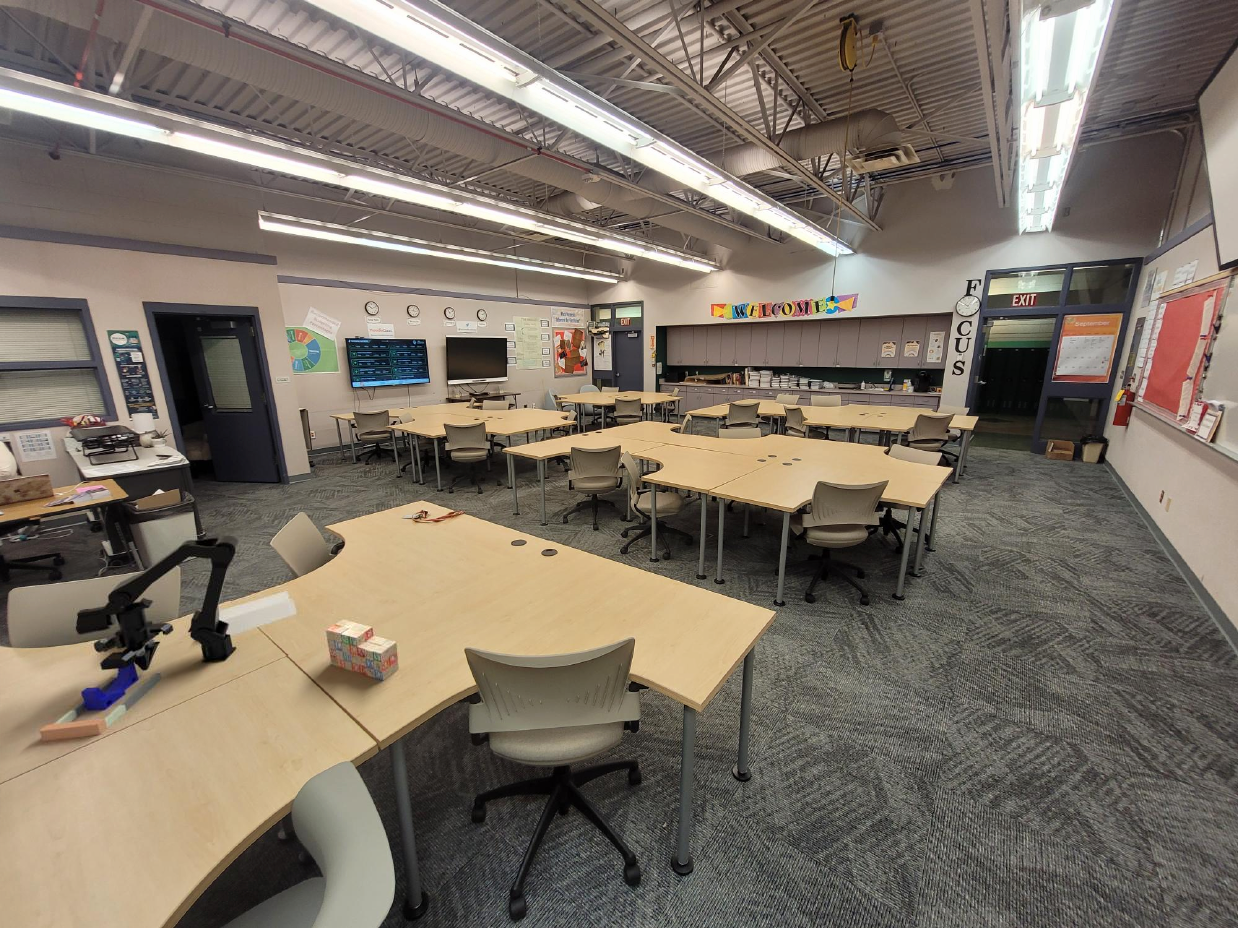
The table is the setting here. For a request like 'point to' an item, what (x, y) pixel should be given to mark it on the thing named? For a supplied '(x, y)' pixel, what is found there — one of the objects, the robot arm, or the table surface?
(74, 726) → the guide rails
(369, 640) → the stack of blocks
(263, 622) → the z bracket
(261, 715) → the table surface
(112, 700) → the cable clip
